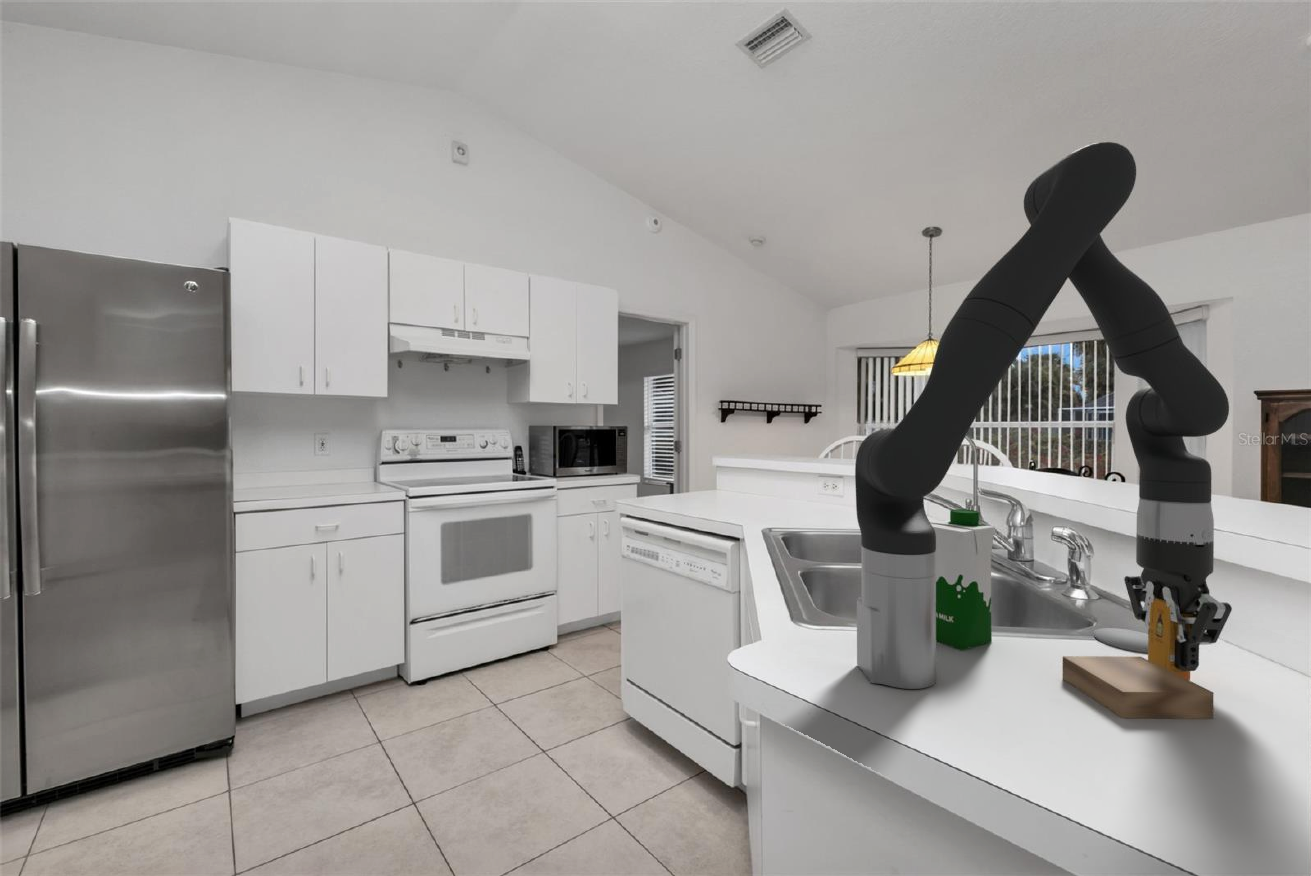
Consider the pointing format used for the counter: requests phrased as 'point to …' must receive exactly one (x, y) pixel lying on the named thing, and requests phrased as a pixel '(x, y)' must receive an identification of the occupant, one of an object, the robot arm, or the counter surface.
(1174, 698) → the walnut plinth
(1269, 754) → the counter surface
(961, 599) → the milk carton
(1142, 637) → the grey coaster
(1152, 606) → the supplement box
